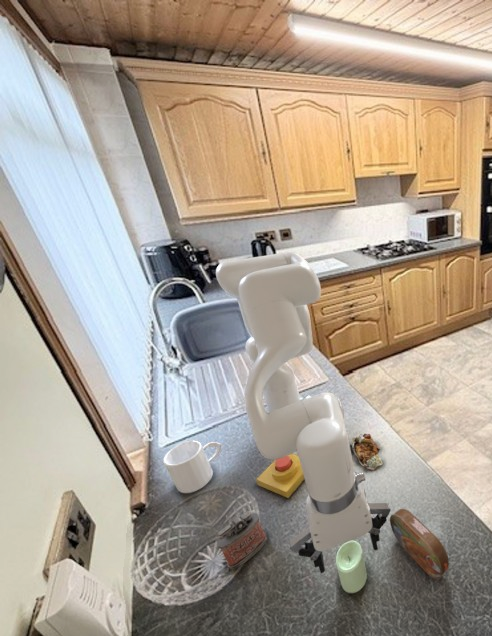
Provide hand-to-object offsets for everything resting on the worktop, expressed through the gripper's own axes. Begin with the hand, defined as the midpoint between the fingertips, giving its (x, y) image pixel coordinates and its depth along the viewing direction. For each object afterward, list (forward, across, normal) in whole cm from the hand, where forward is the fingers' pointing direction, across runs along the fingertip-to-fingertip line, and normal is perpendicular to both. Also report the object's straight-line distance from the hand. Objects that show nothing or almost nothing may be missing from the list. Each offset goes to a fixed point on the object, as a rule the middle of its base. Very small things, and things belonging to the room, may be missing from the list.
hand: (348, 553), depth 64 cm
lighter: (+9, +20, -15) cm, 26 cm away
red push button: (+5, +11, -32) cm, 34 cm away
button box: (+8, +11, -32) cm, 35 cm away
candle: (+9, 0, 0) cm, 9 cm away
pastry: (+8, -10, -30) cm, 33 cm away
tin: (+9, -13, 0) cm, 16 cm away
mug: (+8, +32, -41) cm, 52 cm away
